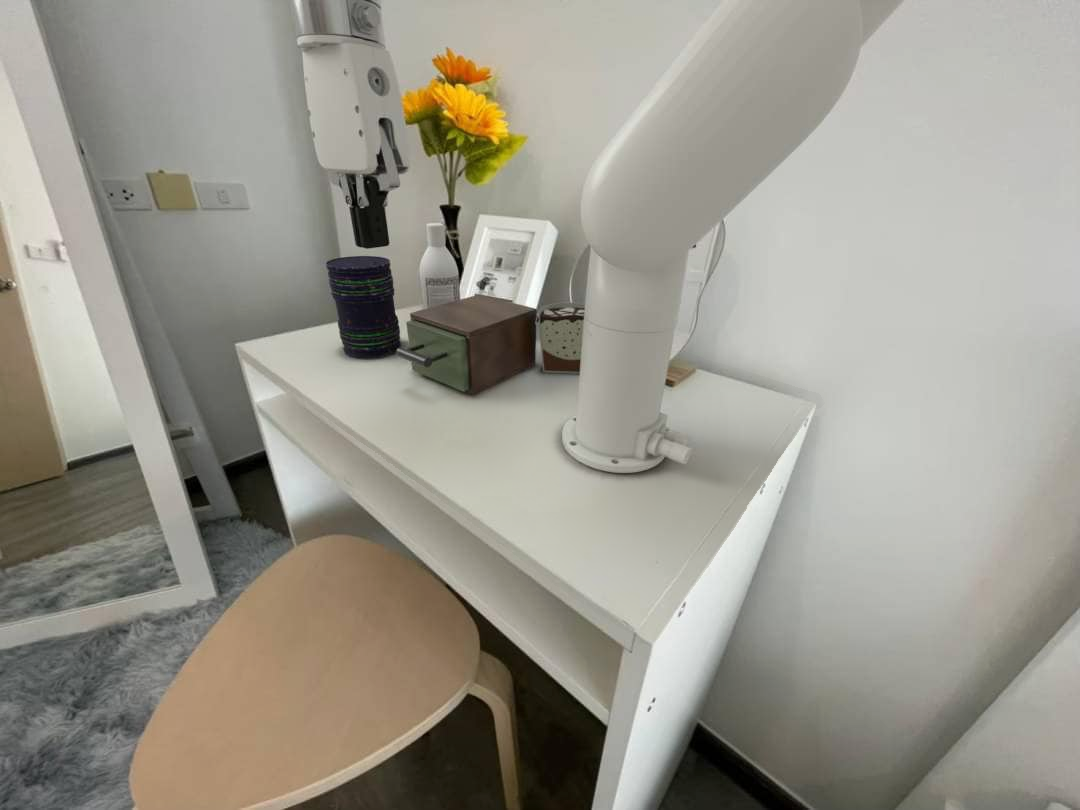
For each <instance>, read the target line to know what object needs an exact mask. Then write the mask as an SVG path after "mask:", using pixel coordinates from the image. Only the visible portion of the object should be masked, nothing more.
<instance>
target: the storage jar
mask: <svg viewBox="0 0 1080 810" xmlns="http://www.w3.org/2000/svg"><path fill="white" fill-rule="evenodd" d="M325 266H326V269H327V270H328V271H327V275H328V283H329V287H330V290H331V291H330V294H331V296H332V299H333V300H334V301H335V307H336V312H337V318H338V320H337V327H338V329H339V331H338V332H339V337H340V340H341V343H342V346H343V348H342V349H343V353H344V355H345V356H347V357H348V358H352V359H358V360H359V359H360V360H374V359H381V358H385V357H389V356H392V355H394V354H396V351H397V349H398V348H399V347H402V342H401V341H400V340H401V335H400V334H401V328H400V323H399V322H400V321H399V317H398V315H397V314H396V307H395V300H394V299H395V298H394V296H395V287H394V277H393V275H392V269H391V260H390V259H389V258H386V257H384V256H383V257H382V256H374V255H373V256H372V255H355V256H354V255H353V256H344V257H337V258H332V259H329V260H327V261H326V262H325Z"/></svg>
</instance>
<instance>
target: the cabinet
mask: <svg viewBox="0 0 1080 810" xmlns="http://www.w3.org/2000/svg"><path fill="white" fill-rule="evenodd" d="M537 314H538V311H537V308H535V307H530V306H527V305H523V304H519V303H516V302H515V303H514V302H511V301H507V300H504V299H498V298H495V297H491V296H487V295H483V294H476V295H472V296H468V297H464V298H460V300H457V301H453V302H449V303H446V304H442V305H438V306H435V307H431V308H427V309H423V308H422V309H419V310H416V311H412V312H410V313H409V315H410V321H411V320H415V321H418V322H421V323H423V322H424V323H427V324H430V325H434V326H437V327H440V328H443V329H446V330H449V331H452V332H455V333H458V334H461V335H464V336H466V338H467V354H468V371H469V388H470V389H468V390H466V391H464V393H466V394H468V395H471V396H475V395H477V394H479V393H482V392H483V391H485V390H488V389H489V388H491V387H493V386H496V385H497V384H499V383H501V382H503V381H505V380H508V379H509V378H513V377H514V376H517V375H518V374H519V373H522V372H524V371H526V370H528V369H530V368H532V367H535V366H536V362H537V361H536V359H537V358H536V354H537V323H536V324H535V321H536V317H537Z"/></svg>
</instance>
